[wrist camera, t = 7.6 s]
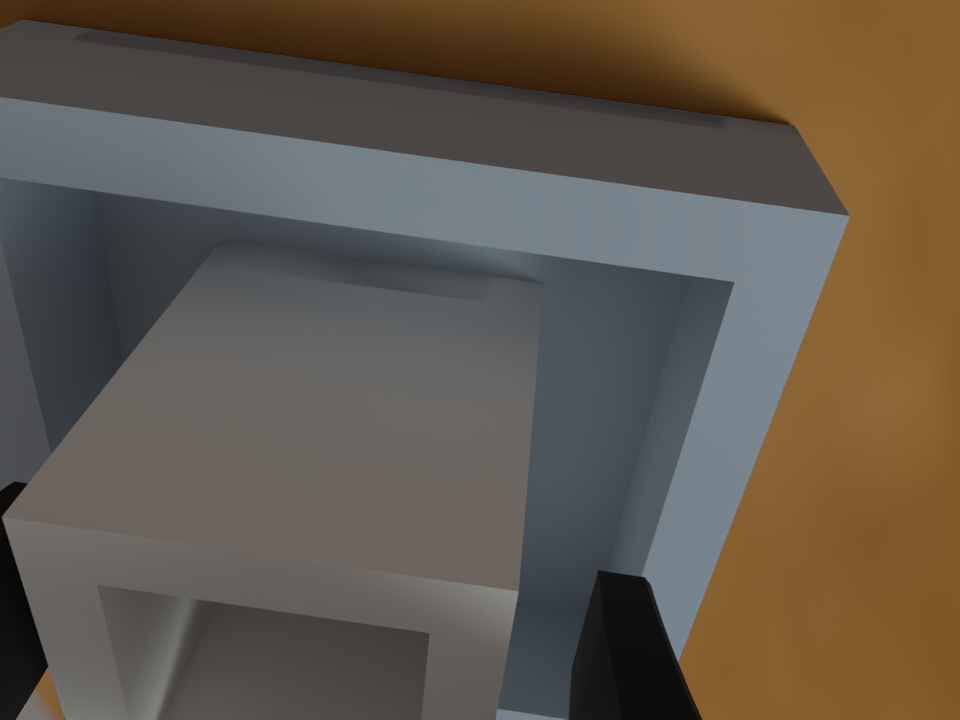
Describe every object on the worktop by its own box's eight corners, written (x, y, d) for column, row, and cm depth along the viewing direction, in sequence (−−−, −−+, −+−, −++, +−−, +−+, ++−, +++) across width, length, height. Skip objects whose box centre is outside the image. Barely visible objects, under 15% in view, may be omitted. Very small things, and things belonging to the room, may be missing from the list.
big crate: (631, 629, 18) (638, 763, 16) (123, 552, 18) (52, 672, 16) (794, 125, 12) (850, 216, 9) (23, 19, 12) (-122, 79, 10)
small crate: (506, 517, 16) (471, 851, 11) (242, 480, 16) (88, 792, 11) (543, 283, 13) (518, 591, 8) (221, 240, 13) (1, 517, 8)
